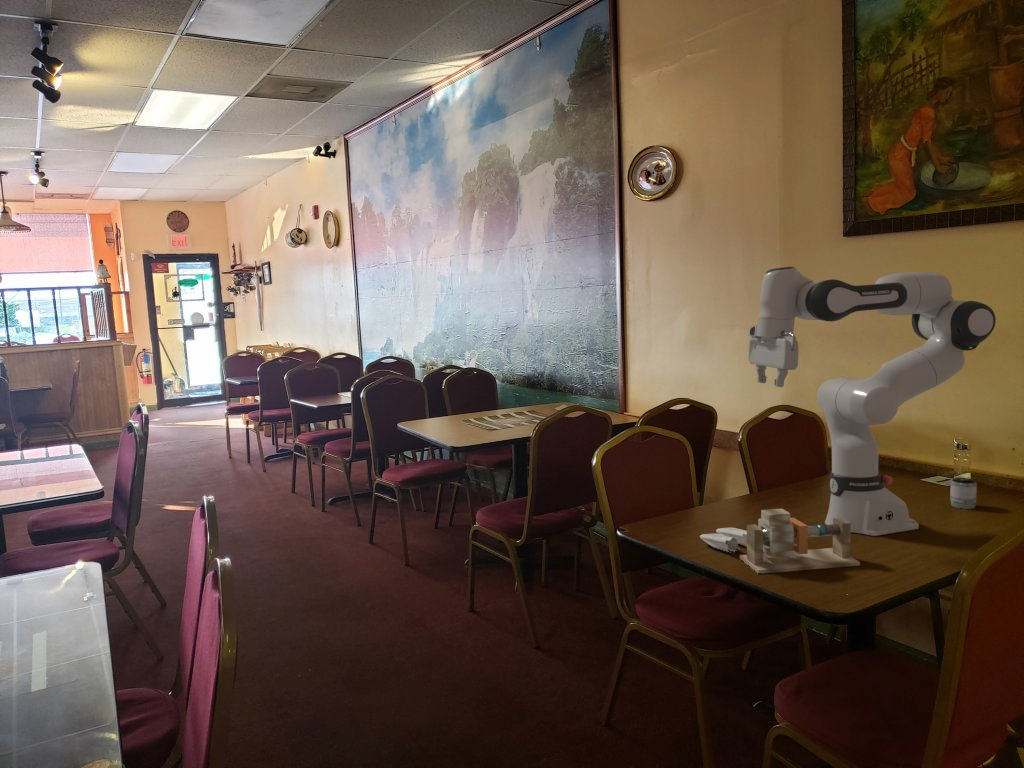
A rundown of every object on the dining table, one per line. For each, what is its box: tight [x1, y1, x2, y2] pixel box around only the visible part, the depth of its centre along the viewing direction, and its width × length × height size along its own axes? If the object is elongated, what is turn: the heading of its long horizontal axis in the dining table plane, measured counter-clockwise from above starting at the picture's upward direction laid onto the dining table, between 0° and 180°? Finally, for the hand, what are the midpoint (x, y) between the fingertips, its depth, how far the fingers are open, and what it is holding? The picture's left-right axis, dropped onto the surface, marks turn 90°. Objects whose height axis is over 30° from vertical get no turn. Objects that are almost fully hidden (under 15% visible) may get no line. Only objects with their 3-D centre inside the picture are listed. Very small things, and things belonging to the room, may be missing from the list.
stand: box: [739, 518, 861, 574], centre depth 167 cm, size 24×10×9 cm, turn 96°
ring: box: [790, 517, 809, 554], centre depth 166 cm, size 2×6×6 cm, turn 6°
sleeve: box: [757, 508, 794, 558], centre depth 166 cm, size 5×7×10 cm
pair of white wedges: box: [699, 527, 747, 553], centre depth 181 cm, size 12×4×11 cm
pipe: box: [763, 524, 841, 541], centre depth 166 cm, size 19×3×3 cm, turn 96°
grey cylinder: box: [949, 477, 978, 510], centre depth 204 cm, size 6×6×8 cm
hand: (770, 384), depth 185 cm, fingers open, 8 cm apart
